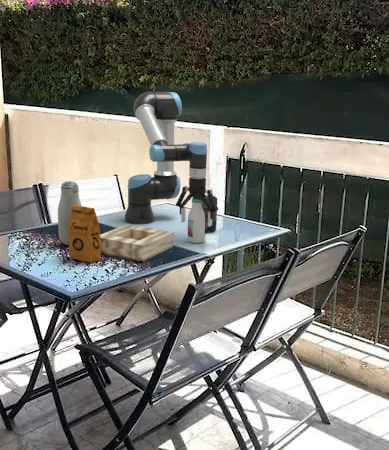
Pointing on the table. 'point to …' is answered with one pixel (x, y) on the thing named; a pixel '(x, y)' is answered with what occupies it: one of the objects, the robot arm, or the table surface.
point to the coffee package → (84, 234)
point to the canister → (206, 210)
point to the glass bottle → (67, 208)
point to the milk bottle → (196, 222)
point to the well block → (135, 242)
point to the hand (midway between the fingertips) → (196, 223)
